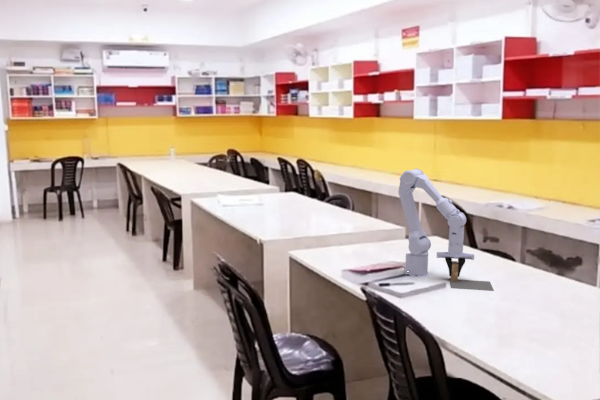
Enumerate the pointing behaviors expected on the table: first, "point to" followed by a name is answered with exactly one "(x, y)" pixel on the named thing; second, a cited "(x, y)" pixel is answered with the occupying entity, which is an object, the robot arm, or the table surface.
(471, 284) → the mat
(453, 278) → the block
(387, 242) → the table surface
